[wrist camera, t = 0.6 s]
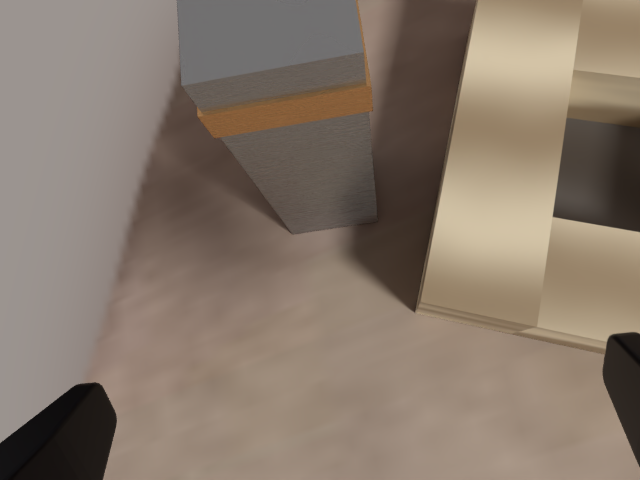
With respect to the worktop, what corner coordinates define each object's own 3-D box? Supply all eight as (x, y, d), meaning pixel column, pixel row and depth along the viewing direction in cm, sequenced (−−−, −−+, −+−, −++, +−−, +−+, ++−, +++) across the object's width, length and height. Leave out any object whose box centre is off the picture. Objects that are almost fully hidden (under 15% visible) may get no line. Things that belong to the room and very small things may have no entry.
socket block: (779, 392, 19) (876, 399, 15) (415, 313, 22) (420, 302, 18) (792, 69, 22) (876, 8, 18) (468, 33, 25) (483, -28, 21)
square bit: (380, 223, 23) (369, 54, 10) (290, 236, 23) (176, 90, 11) (367, 139, 24) (343, -103, 12) (281, 154, 24) (169, -65, 12)
